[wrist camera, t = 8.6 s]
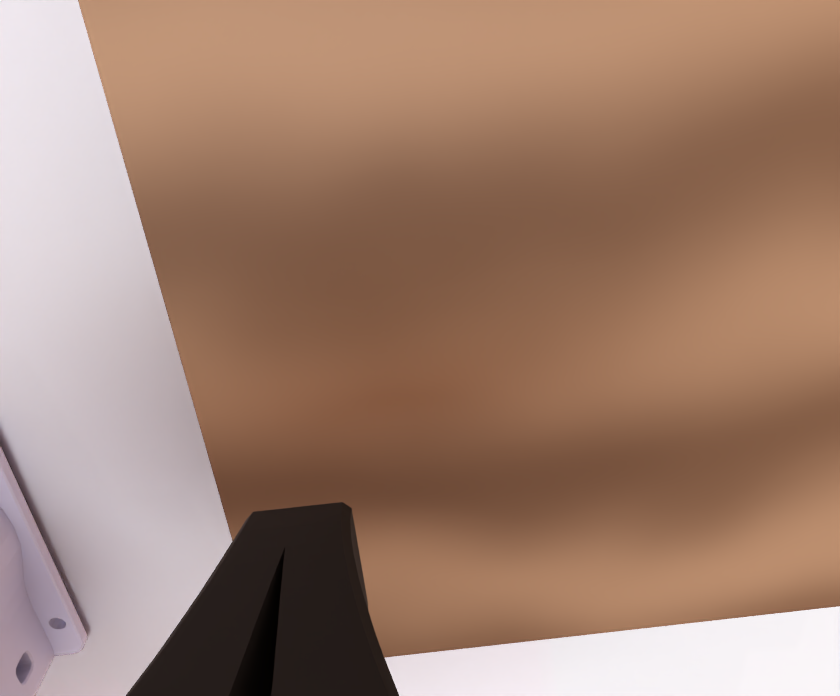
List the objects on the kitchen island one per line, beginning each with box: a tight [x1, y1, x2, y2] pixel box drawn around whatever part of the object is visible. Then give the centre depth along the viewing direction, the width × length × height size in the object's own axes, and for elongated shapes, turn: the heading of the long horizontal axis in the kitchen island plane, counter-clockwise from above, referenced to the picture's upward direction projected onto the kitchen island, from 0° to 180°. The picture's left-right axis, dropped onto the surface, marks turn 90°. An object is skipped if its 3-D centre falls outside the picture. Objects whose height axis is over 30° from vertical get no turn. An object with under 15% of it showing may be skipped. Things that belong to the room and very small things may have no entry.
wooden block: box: [78, 0, 840, 657], centre depth 15 cm, size 24×16×4 cm, turn 5°
